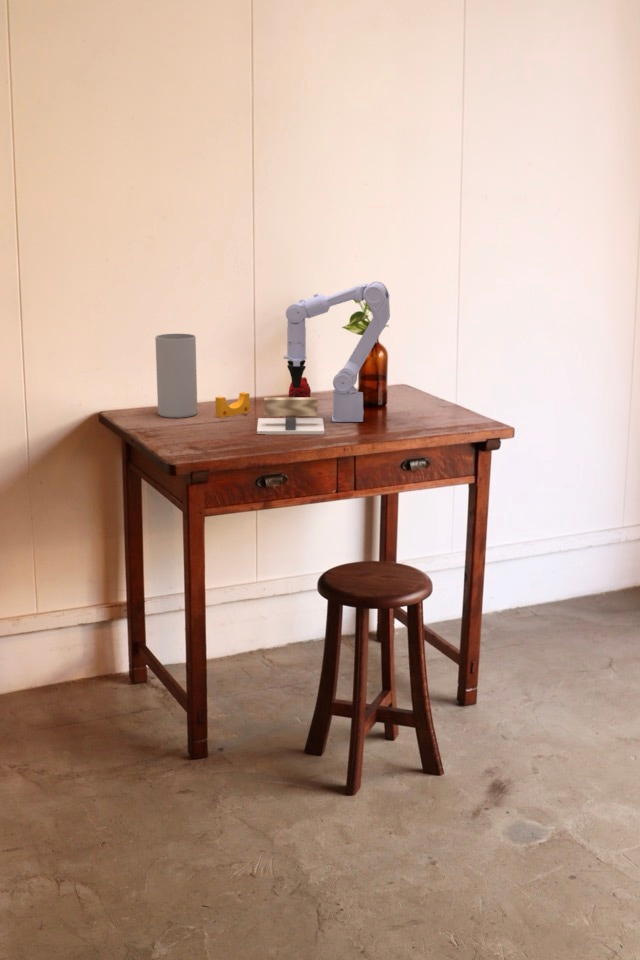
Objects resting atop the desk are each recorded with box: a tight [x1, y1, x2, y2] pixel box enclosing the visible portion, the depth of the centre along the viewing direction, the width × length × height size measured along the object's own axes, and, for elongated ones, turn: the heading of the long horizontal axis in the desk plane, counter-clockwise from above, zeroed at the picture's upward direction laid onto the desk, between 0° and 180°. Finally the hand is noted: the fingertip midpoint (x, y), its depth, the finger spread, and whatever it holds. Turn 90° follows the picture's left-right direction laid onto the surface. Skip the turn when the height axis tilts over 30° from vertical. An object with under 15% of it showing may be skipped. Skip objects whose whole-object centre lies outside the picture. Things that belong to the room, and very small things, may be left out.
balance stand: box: [256, 416, 325, 435], centre depth 351 cm, size 20×18×4 cm
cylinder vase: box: [155, 333, 198, 419], centre depth 366 cm, size 12×12×25 cm
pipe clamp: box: [215, 391, 251, 419], centre depth 369 cm, size 12×4×6 cm, turn 135°
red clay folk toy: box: [288, 376, 312, 397], centre depth 386 cm, size 8×7×15 cm
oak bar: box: [263, 396, 319, 417], centre depth 350 cm, size 16×4×5 cm, turn 92°
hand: (296, 385), depth 362 cm, fingers open, 7 cm apart
